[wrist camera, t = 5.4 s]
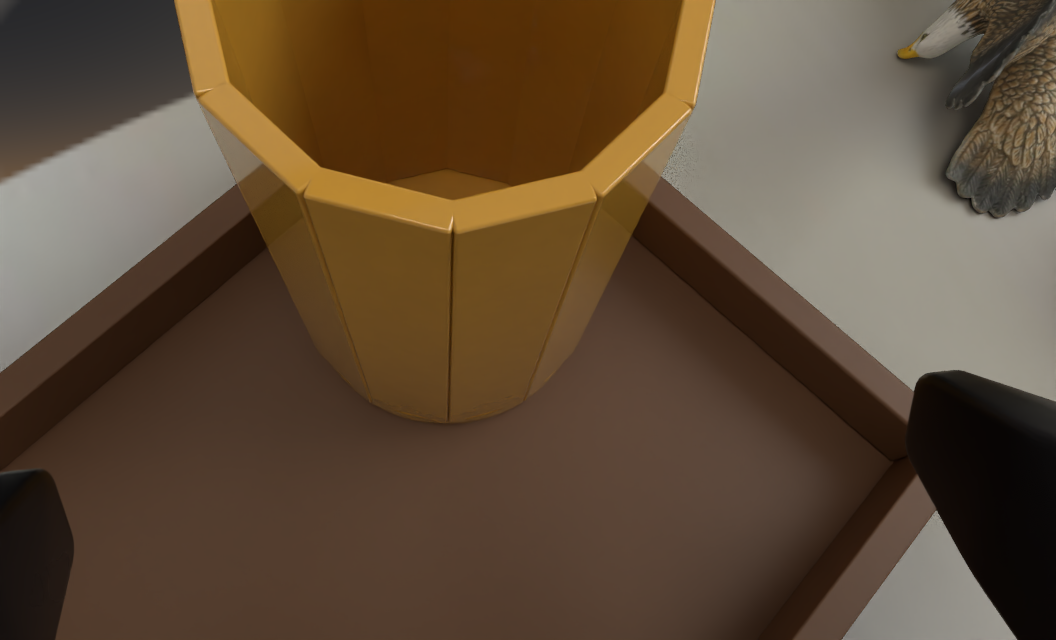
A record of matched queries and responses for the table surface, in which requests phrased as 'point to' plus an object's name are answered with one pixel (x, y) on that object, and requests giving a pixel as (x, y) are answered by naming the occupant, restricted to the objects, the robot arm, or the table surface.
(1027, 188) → the eagle figurine
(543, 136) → the cup
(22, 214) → the table surface
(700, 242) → the tray
